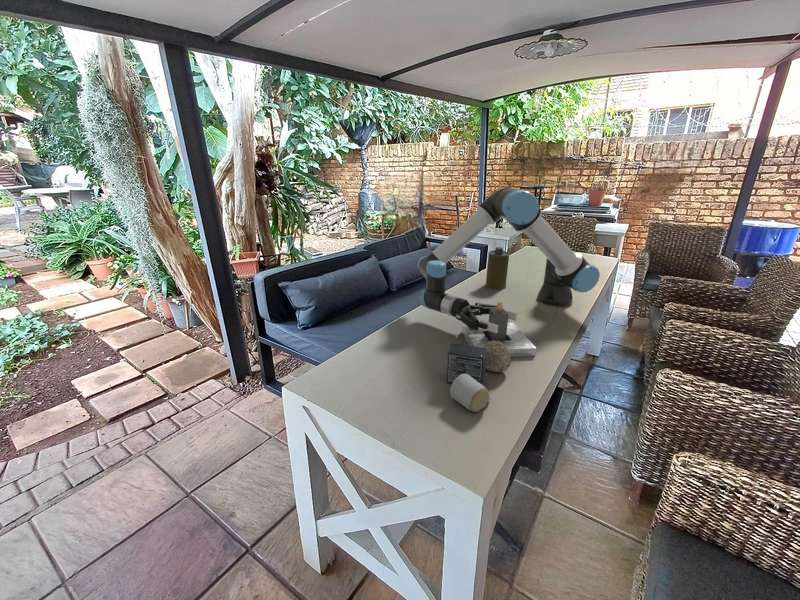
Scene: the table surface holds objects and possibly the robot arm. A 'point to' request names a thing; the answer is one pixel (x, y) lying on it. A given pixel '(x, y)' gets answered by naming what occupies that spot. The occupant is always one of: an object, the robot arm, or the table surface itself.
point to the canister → (497, 269)
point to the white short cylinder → (469, 393)
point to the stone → (497, 356)
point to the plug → (498, 323)
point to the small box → (466, 362)
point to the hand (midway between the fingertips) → (507, 322)
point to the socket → (514, 341)
